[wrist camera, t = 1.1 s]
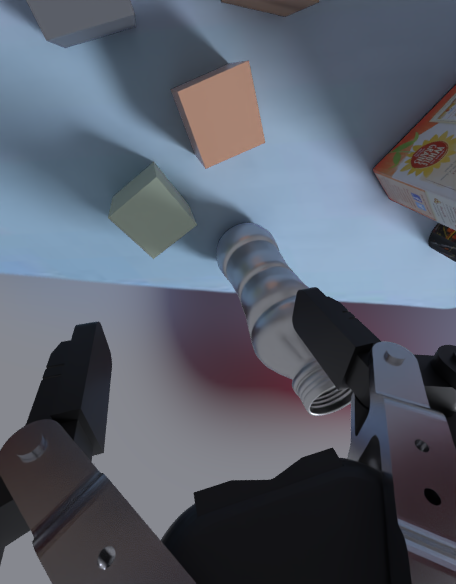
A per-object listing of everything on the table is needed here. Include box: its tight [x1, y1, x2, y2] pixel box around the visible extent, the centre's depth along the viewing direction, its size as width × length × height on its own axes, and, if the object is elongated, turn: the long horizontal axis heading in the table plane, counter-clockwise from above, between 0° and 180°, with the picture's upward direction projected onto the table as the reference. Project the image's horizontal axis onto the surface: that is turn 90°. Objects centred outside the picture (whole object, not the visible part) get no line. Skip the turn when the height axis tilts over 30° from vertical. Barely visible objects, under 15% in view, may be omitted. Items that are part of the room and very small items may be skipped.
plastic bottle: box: [217, 223, 353, 416], centre depth 23 cm, size 6×7×20 cm
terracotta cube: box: [171, 60, 265, 169], centre depth 21 cm, size 5×5×5 cm
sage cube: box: [108, 162, 197, 259], centre depth 24 cm, size 5×5×5 cm
